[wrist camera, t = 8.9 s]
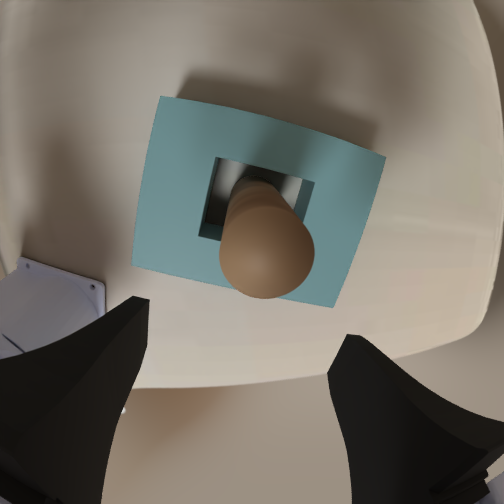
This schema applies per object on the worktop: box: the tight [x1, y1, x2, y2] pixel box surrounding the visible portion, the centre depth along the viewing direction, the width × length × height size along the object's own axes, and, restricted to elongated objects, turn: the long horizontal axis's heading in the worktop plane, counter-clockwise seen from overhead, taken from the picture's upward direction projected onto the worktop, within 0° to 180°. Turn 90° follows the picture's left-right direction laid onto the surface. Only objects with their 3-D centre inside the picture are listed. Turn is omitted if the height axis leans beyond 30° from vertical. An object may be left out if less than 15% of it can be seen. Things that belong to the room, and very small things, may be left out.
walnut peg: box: [219, 176, 315, 299], centre depth 14 cm, size 3×3×10 cm
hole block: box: [131, 96, 386, 308], centre depth 17 cm, size 13×10×3 cm
